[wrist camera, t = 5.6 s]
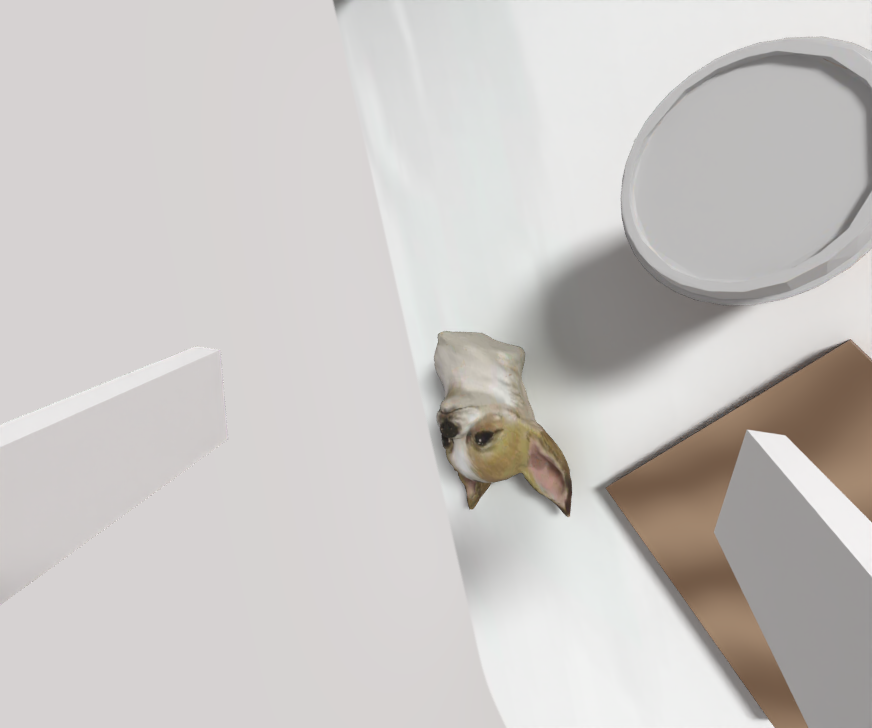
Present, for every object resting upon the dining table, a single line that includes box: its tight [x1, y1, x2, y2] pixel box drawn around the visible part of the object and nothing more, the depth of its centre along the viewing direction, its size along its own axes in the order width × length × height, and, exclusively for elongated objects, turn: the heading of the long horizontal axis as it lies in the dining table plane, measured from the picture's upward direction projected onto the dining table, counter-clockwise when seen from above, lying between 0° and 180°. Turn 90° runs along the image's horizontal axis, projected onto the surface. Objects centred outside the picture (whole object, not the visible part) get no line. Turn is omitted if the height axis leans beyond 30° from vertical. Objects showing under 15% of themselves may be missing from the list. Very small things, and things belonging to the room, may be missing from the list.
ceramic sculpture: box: [434, 331, 572, 517], centre depth 36 cm, size 11×9×15 cm
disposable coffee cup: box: [621, 37, 872, 305], centre depth 22 cm, size 10×10×12 cm
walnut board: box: [606, 339, 872, 728], centre depth 26 cm, size 16×16×2 cm
